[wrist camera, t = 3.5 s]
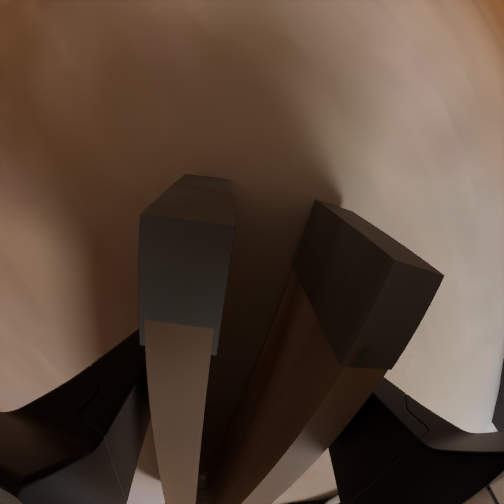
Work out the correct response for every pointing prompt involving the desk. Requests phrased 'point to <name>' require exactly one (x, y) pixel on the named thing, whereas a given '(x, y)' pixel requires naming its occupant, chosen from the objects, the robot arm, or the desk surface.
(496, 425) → the calculator
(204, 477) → the tong hinge block
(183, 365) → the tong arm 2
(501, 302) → the desk surface
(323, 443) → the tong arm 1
